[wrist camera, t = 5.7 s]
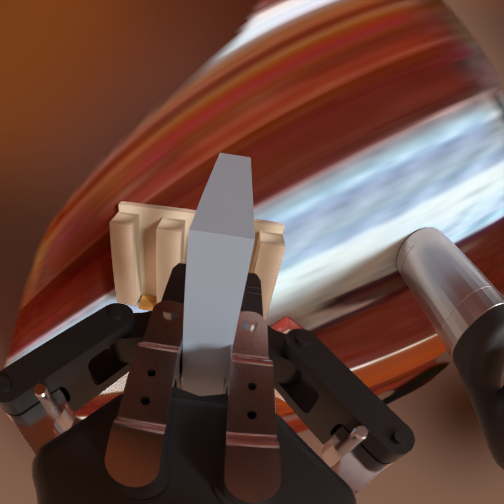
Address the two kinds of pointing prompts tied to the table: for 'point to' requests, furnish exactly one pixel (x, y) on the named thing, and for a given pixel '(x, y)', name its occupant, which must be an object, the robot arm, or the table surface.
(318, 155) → the table surface
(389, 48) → the table surface
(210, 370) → the panel
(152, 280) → the rack
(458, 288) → the robot arm
